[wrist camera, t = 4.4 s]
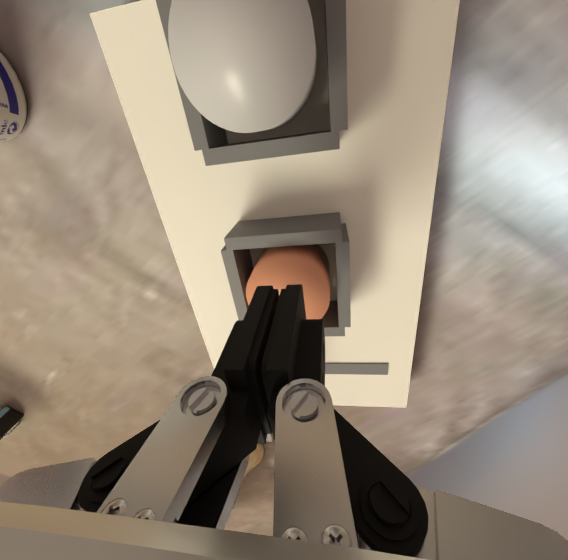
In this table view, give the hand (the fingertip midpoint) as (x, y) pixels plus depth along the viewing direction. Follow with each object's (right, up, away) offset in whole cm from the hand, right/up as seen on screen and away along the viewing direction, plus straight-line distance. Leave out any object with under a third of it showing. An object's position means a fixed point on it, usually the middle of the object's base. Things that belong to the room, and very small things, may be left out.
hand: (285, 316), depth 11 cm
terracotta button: (0, +2, +5) cm, 5 cm away
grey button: (-1, +9, -1) cm, 9 cm away
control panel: (+1, +3, +7) cm, 8 cm away
